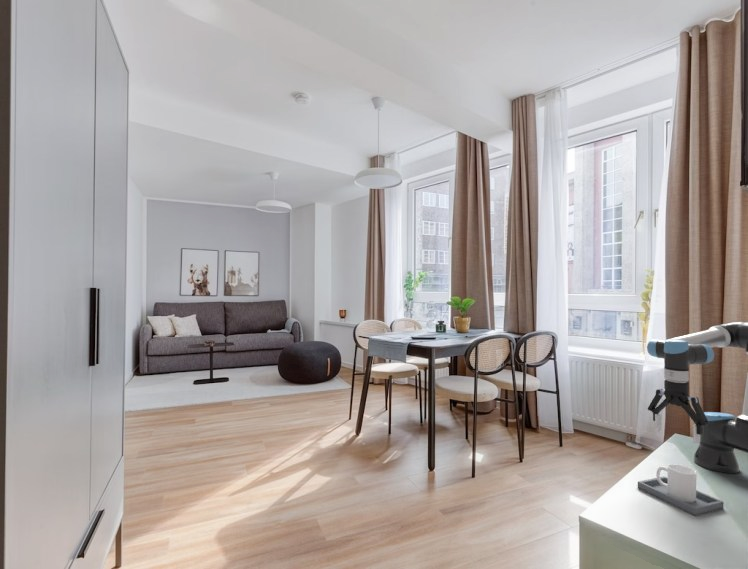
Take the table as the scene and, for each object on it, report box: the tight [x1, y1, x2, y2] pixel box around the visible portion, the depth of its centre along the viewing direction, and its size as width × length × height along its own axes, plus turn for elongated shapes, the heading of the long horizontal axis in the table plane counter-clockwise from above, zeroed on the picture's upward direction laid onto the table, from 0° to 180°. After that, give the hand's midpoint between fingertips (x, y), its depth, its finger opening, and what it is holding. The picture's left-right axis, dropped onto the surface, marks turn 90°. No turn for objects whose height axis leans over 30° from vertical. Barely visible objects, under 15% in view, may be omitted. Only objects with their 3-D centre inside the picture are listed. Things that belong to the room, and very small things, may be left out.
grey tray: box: [637, 476, 725, 517], centre depth 145 cm, size 15×20×2 cm
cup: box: [656, 463, 697, 503], centre depth 147 cm, size 8×12×10 cm
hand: (676, 436), depth 152 cm, fingers open, 13 cm apart
